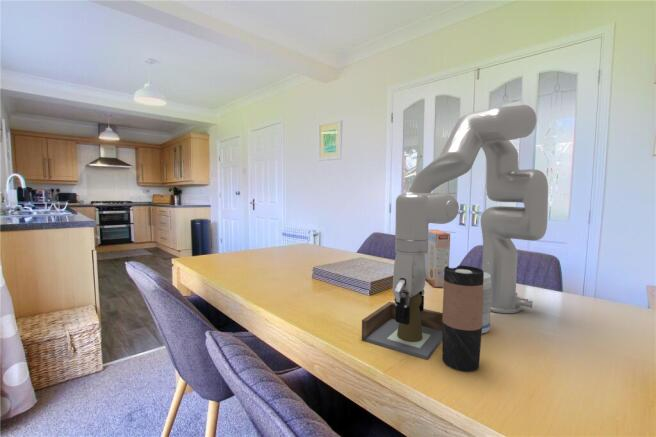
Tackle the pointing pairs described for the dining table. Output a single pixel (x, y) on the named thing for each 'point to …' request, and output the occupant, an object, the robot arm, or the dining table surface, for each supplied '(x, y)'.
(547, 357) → the dining table surface
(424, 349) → the mat
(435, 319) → the walls
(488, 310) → the supplement tub
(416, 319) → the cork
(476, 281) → the travel mug
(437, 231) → the cracker box
